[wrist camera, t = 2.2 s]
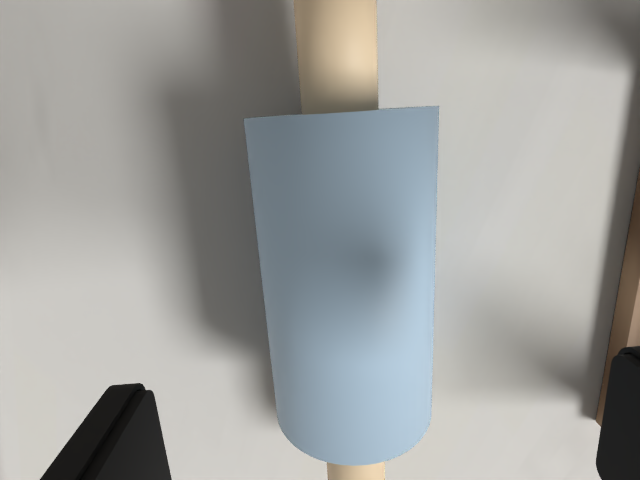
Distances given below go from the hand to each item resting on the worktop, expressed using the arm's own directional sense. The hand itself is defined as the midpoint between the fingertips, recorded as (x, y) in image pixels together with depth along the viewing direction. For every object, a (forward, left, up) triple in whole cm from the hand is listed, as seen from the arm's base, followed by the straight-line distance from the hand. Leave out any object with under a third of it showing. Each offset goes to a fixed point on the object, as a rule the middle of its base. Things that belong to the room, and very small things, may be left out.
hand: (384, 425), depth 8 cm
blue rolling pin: (-1, 0, -10) cm, 10 cm away
